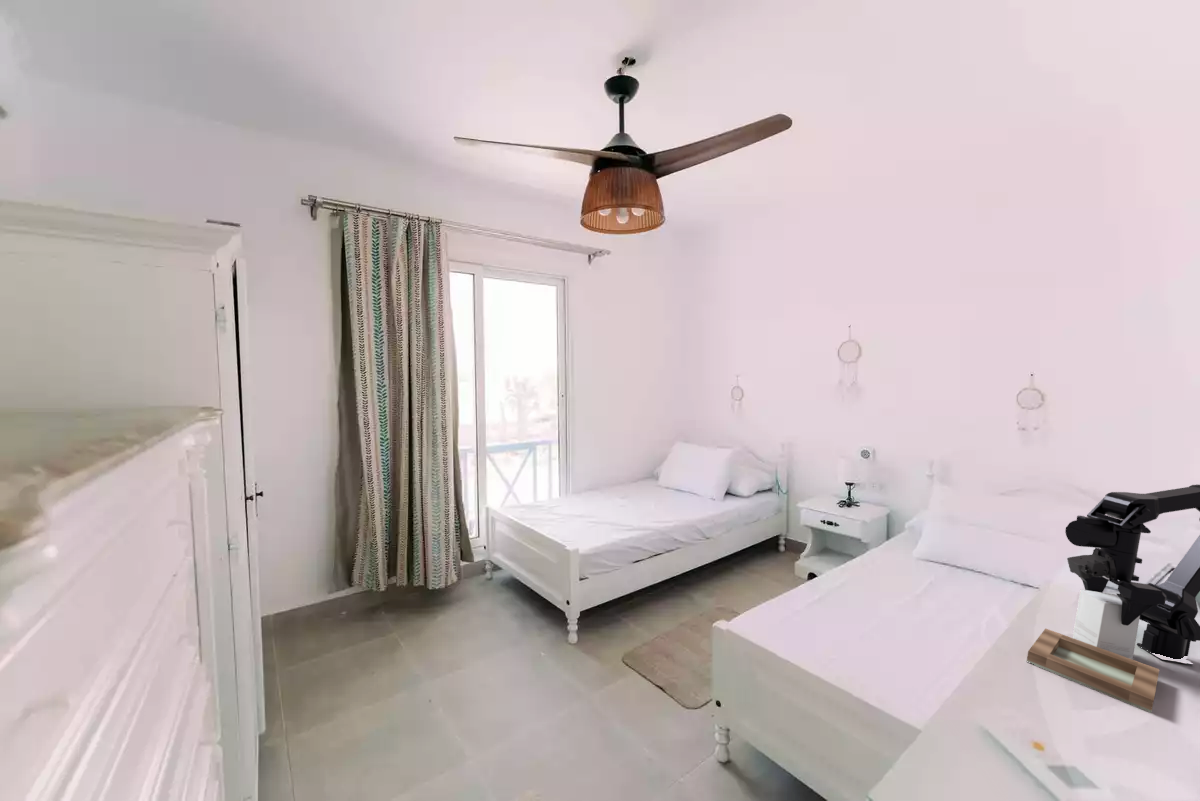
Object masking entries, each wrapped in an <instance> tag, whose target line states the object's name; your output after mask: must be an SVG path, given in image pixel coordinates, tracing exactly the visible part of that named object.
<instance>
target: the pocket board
mask: <svg viewBox="0 0 1200 801" xmlns="http://www.w3.org/2000/svg"><path fill="white" fill-rule="evenodd" d="M1026 656H1027V657H1026V662H1027V661H1028V662H1030V663H1032V664H1031V665H1033V664H1034V665H1033V666H1035V665H1036V667H1038V668H1040V669H1042V668H1043V670H1046V671H1047V672H1050V673H1053V674H1055V675H1056V676H1060V677H1062V678H1065V679H1067V680H1069V681H1072V682H1074V683H1076V684H1079V685H1082V686H1085V687H1086V688H1090V689H1092V690H1093V691H1097V692H1099V693H1101V694H1104V695H1105V696H1109V697H1111V698H1112V699H1113V698H1114V699H1116V700H1119V701H1120V702H1123V703H1126V704H1128V705H1130V706H1133V707H1135V708H1138V709H1140V710H1142V711H1145V712H1148V713H1150V714H1152V712H1153V707H1154V701H1155V697H1156V696H1155V695H1156V691H1157V684H1158V680H1159V674H1160V668H1157V667H1154V666H1151V665H1148V664H1145V663H1143V662H1140V661H1137V660H1135V659H1129V658H1126V657H1124V656H1121V655H1118V654H1115V653H1113V652H1110V651H1107V650H1104V649H1101V648H1099V647H1096V646H1093V645H1090V644H1088V643H1085V642H1082V641H1079V640H1076V639H1074V638H1072V637H1071V636H1069V635H1065V634H1062V633H1059V632H1056V631H1054V630H1051V629H1049V628H1044V630H1043V631H1042V632H1041V633H1040V635H1039V636H1038V638H1037V639H1036V640H1035V642H1034V643H1033V644H1032V645H1031V646H1030V648H1029V649H1028V652H1027V655H1026ZM1028 662H1027V663H1028ZM1030 663H1029V664H1030Z"/></svg>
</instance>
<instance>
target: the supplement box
mask: <svg viewBox="0 0 1200 801" xmlns="http://www.w3.org/2000/svg"><path fill="white" fill-rule="evenodd" d="M1078 595H1079V596H1078V601H1077V609H1076V614H1075V619H1074V627H1073V632H1072V637H1071V638H1074V639H1076V640H1079V641H1082V642H1085V643H1088V644H1090V645H1093V646H1096V647H1099V648H1101V649H1104V650H1107V651H1110V652H1113V653H1115V654H1118V655H1121V656H1124V657H1126V658H1129V659H1132V660H1134V653H1135V652H1134V651H1135V646H1136V641H1137V640H1136V639H1137V634H1138V630H1139V624H1140V616H1139V617H1137V618H1136V619H1135V620H1134V621H1133V622H1132V623H1131V624H1129V625H1128V626H1127V625H1123V624H1121V611H1122V601H1121V599H1120V598H1119V597H1118V596H1117V594H1116V593H1115V594H1114V593H1108V592H1103V593H1102V592H1095V591H1088V590H1085V589H1080V590H1079V594H1078Z"/></svg>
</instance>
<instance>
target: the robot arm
mask: <svg viewBox="0 0 1200 801" xmlns="http://www.w3.org/2000/svg"><path fill="white" fill-rule="evenodd" d="M1193 509H1196V510H1197V511H1198V512H1199V513H1200V484H1192V485H1190V486H1186V487H1185V486H1184V487H1180V488H1179V487H1178V488H1172V489H1167V490H1166V489H1165V490H1161V491H1154V492H1149V493H1136V492H1127V491H1111V492H1108V493H1106V494H1105V496H1104V497H1103V498H1102V499H1101V500H1100V501H1099V502H1098V503H1097V504H1096V505H1095V506H1094V507H1093V508H1092V509H1091V510H1089V512H1088V513H1087V514H1086V516H1084V515H1077V516H1076V519H1075V520H1072V521H1071V522H1069V523H1068V524H1067V526H1066V527H1065V528H1064V529H1065V531H1064V532H1065V536H1066V538H1067V540H1068V541H1069V542H1070V543H1071V544H1072V545H1074V546H1076V547H1084V548H1093V550H1092V553H1091V554H1082V555H1077V556H1071V557H1070V556H1069V557H1067V558H1066V559H1067V564H1068V569H1069V571H1070V573H1072V574H1073V573H1074V574H1075V575H1077V576H1078V577H1079V578H1080V579H1081V581H1082V583H1083V586H1084V590H1088V591H1095V592H1102V593H1104V591H1105V588H1106V587H1107V585H1108V584H1109V582H1110V583H1113V584H1115V585H1116V586H1117V590H1118V592H1119V593H1115V595H1117V596H1118V597H1119V598H1120V599H1121V601H1122V611H1121V624H1123V625H1127V626H1128V625H1129V624H1131V623H1132V622H1133V621H1134V620H1135V619H1136V618H1137V617H1139V616H1140V619H1139V621H1141V622H1145V623H1146V629H1144V630H1143V635H1142V640H1141V643H1140V642H1137V643H1136V646H1137V647H1139V646H1140V647H1139V648H1141V647H1142V648H1143V650H1144V649H1145V650H1144V651H1146V650H1148V651H1149V652H1151V653H1155V654H1160V655H1163V656H1166V657H1170V658H1173V659H1181V658H1183V657H1184V656H1188V657H1189V652H1190V647H1191V642H1194V643H1196V642H1197V641H1198V642H1199V641H1200V624H1199V622H1197V620H1196V617H1197V615H1198V613H1199V608H1198V605H1197V600H1196V598H1197V596H1198V595H1199V593H1200V534H1199V535H1198V536H1197V538H1196V540H1194V542H1193V543H1192V545H1191V546H1190V548H1188V550H1187V551H1186V552H1185V554H1184V555H1183V557H1182V559H1181V560H1180V561H1179V562H1178V564H1177V565H1176V566H1175V568H1174V569H1173V570H1172V572H1171V573H1170V574H1169V576H1168V578H1167V579H1166V580H1165V581H1164V582H1162V583H1159V584H1157V585H1156V584H1154V583H1151V582H1149V583H1141V582H1139V581H1140V576H1138V575H1136V574H1135V569H1136V564H1140V565H1141V564H1142V563H1143V558H1140V557H1138V552H1139V546H1140V540H1141V534H1151V532H1152V531H1151V530H1150V528H1148V527H1147V526H1146V525H1145V524H1146V523H1149V522H1151V521H1155V520H1157V519H1158V518H1159V516H1160V515H1162V514H1166V513H1172V512H1179V511H1185V510H1193ZM1199 521H1200V517H1199ZM1142 648H1141V649H1142ZM1149 652H1148V653H1149Z"/></svg>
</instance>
